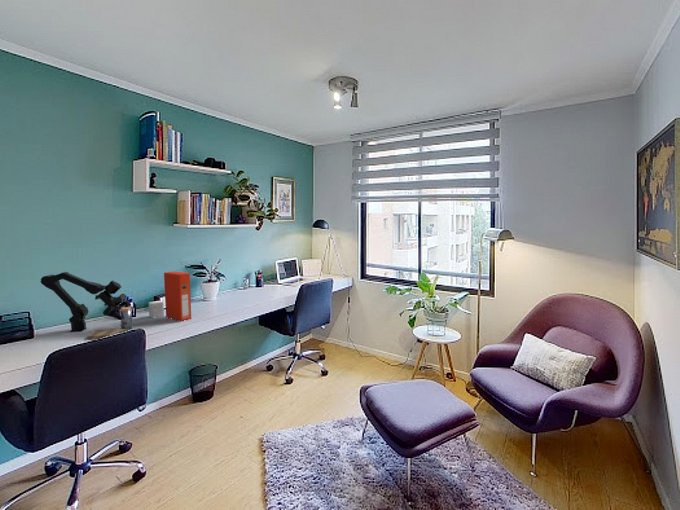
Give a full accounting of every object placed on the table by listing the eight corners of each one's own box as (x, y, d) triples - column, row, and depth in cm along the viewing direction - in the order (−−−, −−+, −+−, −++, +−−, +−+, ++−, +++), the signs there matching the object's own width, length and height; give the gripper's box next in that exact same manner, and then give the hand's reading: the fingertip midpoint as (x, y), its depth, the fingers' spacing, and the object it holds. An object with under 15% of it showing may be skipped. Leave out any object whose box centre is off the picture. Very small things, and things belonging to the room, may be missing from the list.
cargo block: (121, 311, 222) (121, 308, 222) (123, 309, 226) (123, 307, 226) (128, 311, 223) (128, 308, 223) (130, 309, 227) (130, 307, 226)
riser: (87, 339, 206) (86, 336, 205) (95, 333, 216) (95, 330, 216) (122, 337, 210) (121, 334, 209) (128, 331, 220) (128, 328, 220)
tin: (119, 331, 222) (118, 311, 221) (123, 328, 228) (122, 309, 226) (130, 330, 223) (129, 311, 222) (133, 327, 229) (132, 309, 228)
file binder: (180, 321, 242) (179, 274, 239) (165, 317, 252) (163, 272, 248) (191, 319, 249) (189, 273, 246) (176, 315, 258) (174, 271, 255)
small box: (160, 314, 260) (160, 300, 259) (164, 316, 256) (163, 301, 255) (148, 317, 253) (148, 302, 252) (152, 318, 250) (151, 303, 249)
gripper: (106, 293, 214) (125, 312, 215) (126, 287, 232) (143, 304, 233) (94, 306, 215) (113, 324, 216) (115, 299, 234) (132, 316, 234)
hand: (126, 317), depth 225 cm, fingers open, 9 cm apart
